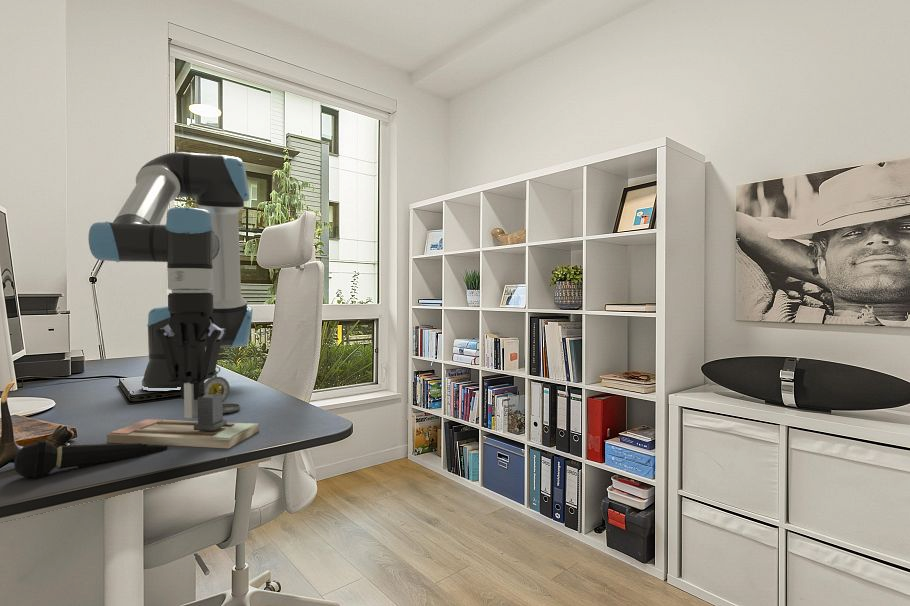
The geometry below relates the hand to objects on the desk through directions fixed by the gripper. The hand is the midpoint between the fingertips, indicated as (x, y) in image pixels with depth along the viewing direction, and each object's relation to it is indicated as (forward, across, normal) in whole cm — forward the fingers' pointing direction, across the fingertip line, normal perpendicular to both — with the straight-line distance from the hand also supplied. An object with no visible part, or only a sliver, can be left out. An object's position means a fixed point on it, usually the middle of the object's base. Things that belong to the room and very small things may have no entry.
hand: (192, 416), depth 92 cm
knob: (+2, +3, 0) cm, 4 cm away
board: (+4, -2, 0) cm, 4 cm away
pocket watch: (+4, -7, +19) cm, 21 cm away
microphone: (+5, -6, -15) cm, 17 cm away
